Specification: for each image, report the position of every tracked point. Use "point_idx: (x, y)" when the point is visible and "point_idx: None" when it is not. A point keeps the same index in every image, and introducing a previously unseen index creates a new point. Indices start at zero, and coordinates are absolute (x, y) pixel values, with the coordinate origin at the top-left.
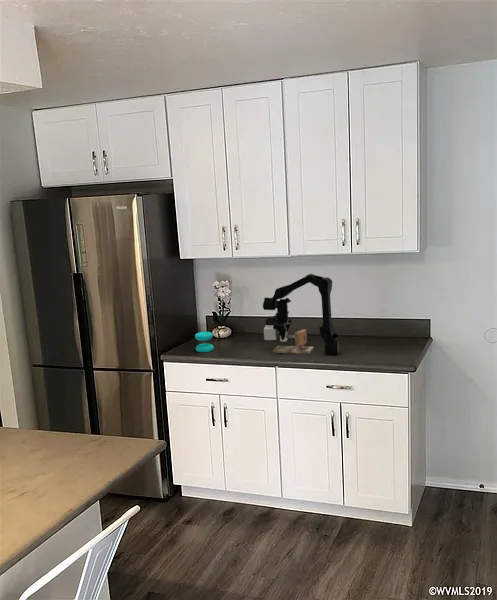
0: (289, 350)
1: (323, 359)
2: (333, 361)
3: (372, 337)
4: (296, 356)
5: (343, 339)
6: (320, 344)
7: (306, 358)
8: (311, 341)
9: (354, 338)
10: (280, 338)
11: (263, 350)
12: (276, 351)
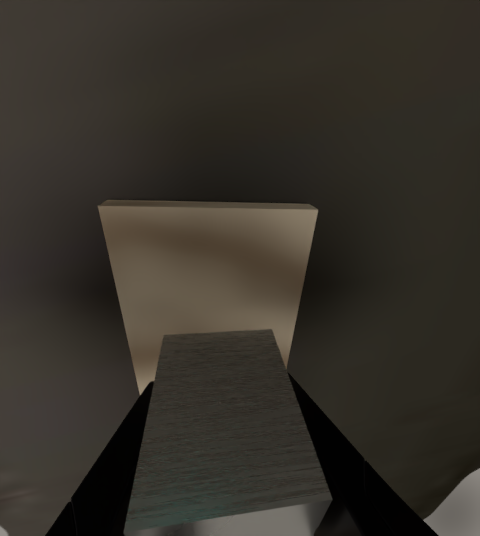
0: (143, 354)
1: (54, 502)
2: (38, 529)
3: (420, 506)
4: (55, 402)
5: (428, 462)
6: (362, 423)
7: (33, 452)
8: (447, 374)
9: (428, 480)
10: (157, 377)
11: (191, 19)
12: (111, 243)
